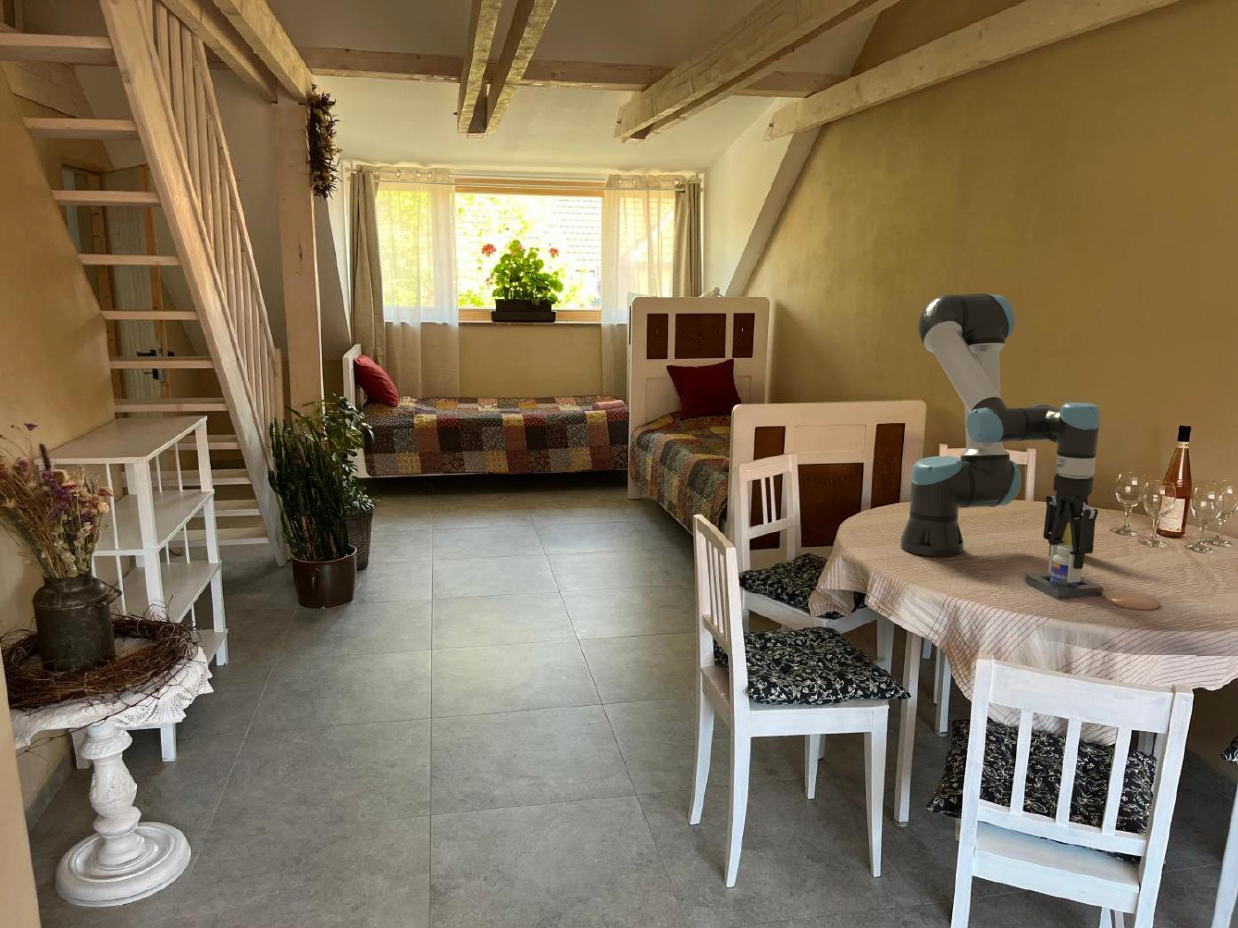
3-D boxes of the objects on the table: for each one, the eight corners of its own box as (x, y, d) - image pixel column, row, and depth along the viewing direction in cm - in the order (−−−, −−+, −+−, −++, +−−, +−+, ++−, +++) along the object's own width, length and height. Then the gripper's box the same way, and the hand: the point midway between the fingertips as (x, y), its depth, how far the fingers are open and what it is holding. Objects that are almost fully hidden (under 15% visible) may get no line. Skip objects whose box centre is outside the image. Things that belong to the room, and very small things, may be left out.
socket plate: (1024, 582, 201) (1025, 574, 200) (1067, 579, 203) (1068, 571, 202) (1057, 599, 190) (1058, 590, 190) (1102, 595, 192) (1103, 586, 192)
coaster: (1094, 595, 192) (1094, 592, 192) (1134, 591, 194) (1134, 589, 194) (1129, 611, 183) (1129, 609, 183) (1170, 608, 185) (1171, 605, 185)
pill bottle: (1045, 589, 196) (1049, 547, 194) (1054, 583, 200) (1058, 542, 198) (1071, 595, 193) (1075, 552, 191) (1080, 589, 196) (1084, 547, 194)
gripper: (1031, 467, 199) (1022, 565, 204) (1088, 485, 182) (1077, 592, 186) (1060, 465, 201) (1051, 563, 205) (1120, 483, 183) (1109, 589, 188)
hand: (1063, 576), depth 196 cm, fingers closed on pill bottle, 5 cm apart
